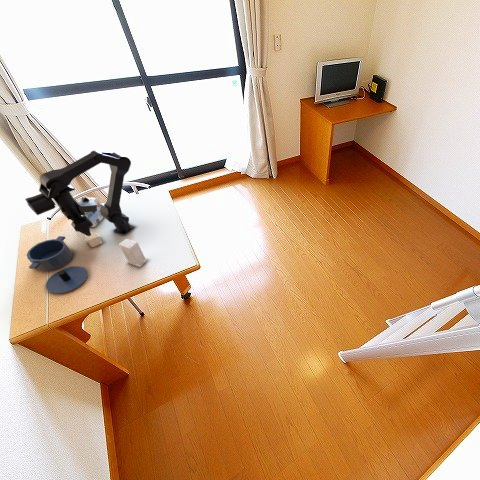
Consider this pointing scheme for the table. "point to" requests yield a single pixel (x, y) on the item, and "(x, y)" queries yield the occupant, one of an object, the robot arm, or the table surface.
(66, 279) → the lid
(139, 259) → the cosmetic box
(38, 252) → the pot
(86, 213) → the light bulb box
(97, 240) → the block
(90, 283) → the table surface
